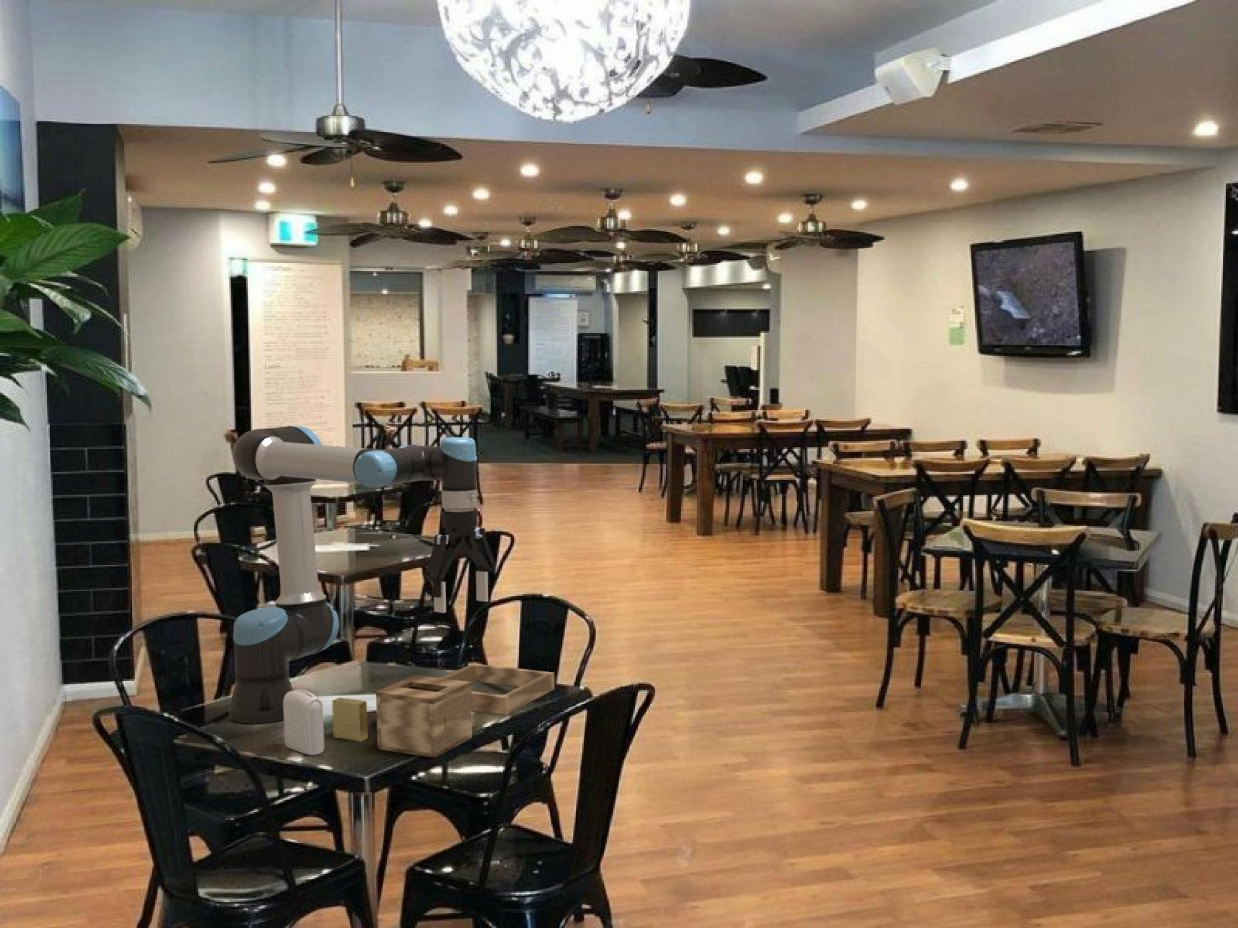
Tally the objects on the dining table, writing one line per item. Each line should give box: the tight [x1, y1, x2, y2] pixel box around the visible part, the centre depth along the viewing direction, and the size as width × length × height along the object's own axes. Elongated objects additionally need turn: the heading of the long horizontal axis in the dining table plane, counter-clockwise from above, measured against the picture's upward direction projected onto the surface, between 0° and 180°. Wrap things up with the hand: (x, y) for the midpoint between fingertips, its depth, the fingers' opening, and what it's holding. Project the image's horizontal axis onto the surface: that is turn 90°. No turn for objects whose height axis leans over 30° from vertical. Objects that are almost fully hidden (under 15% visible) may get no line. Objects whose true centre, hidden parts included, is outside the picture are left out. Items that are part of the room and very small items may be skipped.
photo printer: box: [283, 689, 325, 756], centre depth 245 cm, size 10×4×12 cm, turn 47°
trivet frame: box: [441, 663, 555, 716], centre depth 283 cm, size 23×23×4 cm
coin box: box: [375, 674, 473, 759], centre depth 248 cm, size 14×14×12 cm
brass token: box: [331, 697, 369, 742], centre depth 253 cm, size 7×2×8 cm, turn 65°
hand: (461, 606), depth 259 cm, fingers open, 13 cm apart
